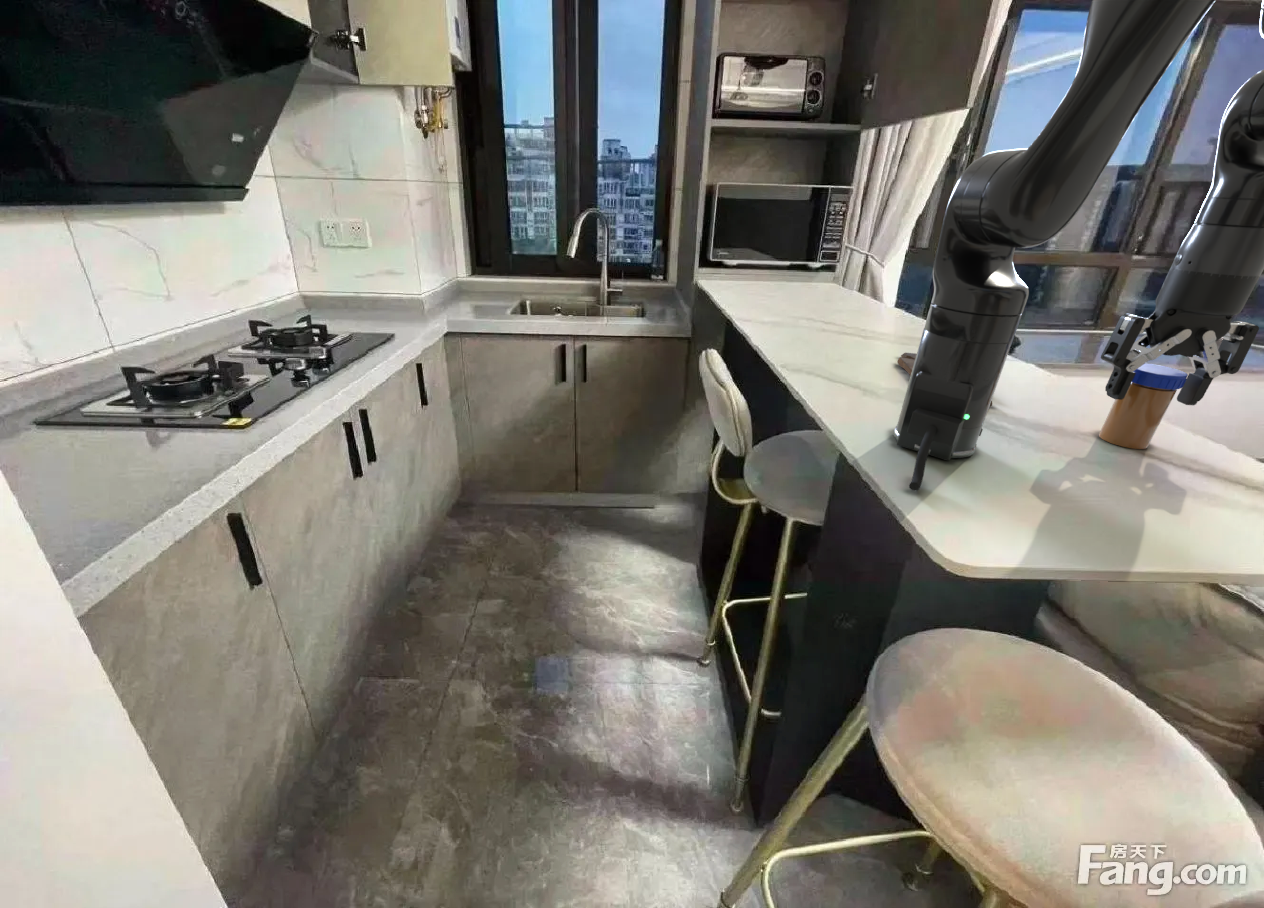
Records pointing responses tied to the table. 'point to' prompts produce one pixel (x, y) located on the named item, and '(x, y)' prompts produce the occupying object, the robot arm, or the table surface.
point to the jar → (1136, 416)
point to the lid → (1159, 376)
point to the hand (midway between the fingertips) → (1149, 400)
